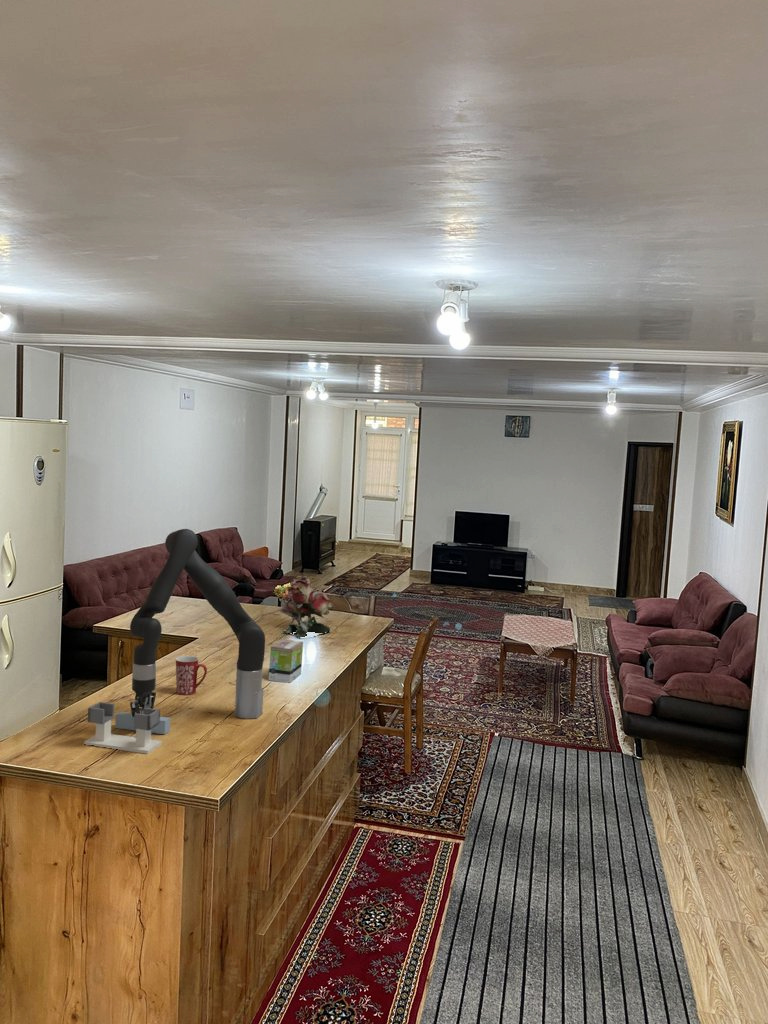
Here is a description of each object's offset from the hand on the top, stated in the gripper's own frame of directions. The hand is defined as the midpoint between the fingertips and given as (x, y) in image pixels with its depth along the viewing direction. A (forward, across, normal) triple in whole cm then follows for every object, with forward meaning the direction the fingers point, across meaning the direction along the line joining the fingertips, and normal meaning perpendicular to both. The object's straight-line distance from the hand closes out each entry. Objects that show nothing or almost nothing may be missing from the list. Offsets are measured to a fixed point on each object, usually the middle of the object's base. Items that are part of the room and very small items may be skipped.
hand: (142, 726), depth 268 cm
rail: (+1, 0, 0) cm, 1 cm away
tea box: (+2, +78, -24) cm, 82 cm away
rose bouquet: (+2, +164, -5) cm, 164 cm away
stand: (+1, -14, -1) cm, 14 cm away
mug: (+2, +43, +3) cm, 43 cm away
